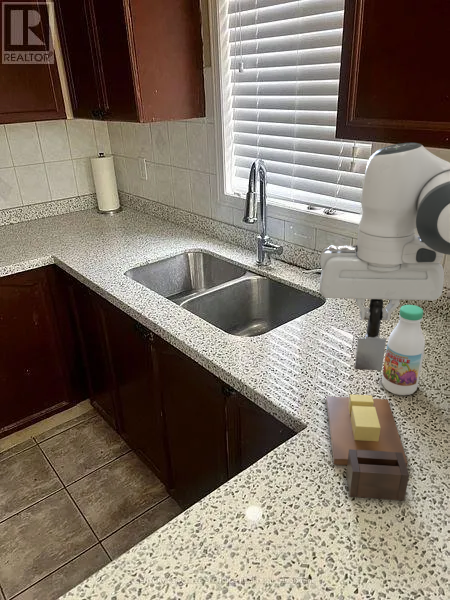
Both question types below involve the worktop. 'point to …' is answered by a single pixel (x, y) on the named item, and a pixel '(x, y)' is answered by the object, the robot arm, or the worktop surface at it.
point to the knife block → (377, 474)
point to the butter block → (365, 423)
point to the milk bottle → (404, 353)
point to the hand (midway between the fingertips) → (374, 318)
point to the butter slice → (360, 401)
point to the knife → (371, 341)
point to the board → (344, 434)
